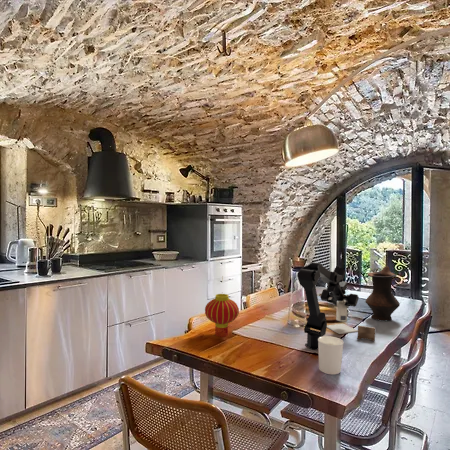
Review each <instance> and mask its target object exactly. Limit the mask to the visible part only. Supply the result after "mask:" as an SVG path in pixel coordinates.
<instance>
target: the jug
mask: <svg viewBox="0 0 450 450" xmlns="http://www.w3.org/2000/svg"><path fill="white" fill-rule="evenodd" d="M367 276H368V277H370V278H371V280H372V292H371V294H369V296H367V298H366V299H365V304H366V305H367V306H368V307H369V309H370V311H372V314H371V316H370V317H371V319H372V320H376V321H384V322H388V321H391V320H393V317H392V314H393V313H394V312H395V311H396V310H398V308H399V307H400V302H399V300H398V299H397V298H396V297H395V295H394V294H393V292H392V281H393V278H396V277H398V276H397V274H395V273H393V272H391V270H390V267H389V266H383V268H382V269H381V270H380V271H372V272H371V271H370V272H368V273H367Z"/></svg>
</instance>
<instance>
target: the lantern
mask: <svg viewBox="0 0 450 450" xmlns="http://www.w3.org/2000/svg"><path fill="white" fill-rule="evenodd" d="M223 277H224V276H223V275H222V277H221V278H222V281H224V280H223ZM239 313H240V308H239V306H238V304H237V303H236V302H235V301H234V300H233V299H232V298H229V294H227V293H217V294H215V298H213V299H211V300H209V301H208V302H207V304H206V305H205V307H204V315H205V317H206V318H207V319H208V320H210V322H212V323H213V324H215V326H214V327H215V331H214V332H215V335H214V336H216V337H227V336H228V334H229V333H228V332H229V324H230V323H232V322H233V321H236V319H237V317H238V316H239Z"/></svg>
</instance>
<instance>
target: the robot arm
mask: <svg viewBox="0 0 450 450" xmlns="http://www.w3.org/2000/svg"><path fill="white" fill-rule="evenodd" d="M296 275H297V276H296V277H297V279H298V283H299V285H300V286H301V287H302V288H303V289H304V293H305V297H306V303H307V308H308V311H309V315H308V317H307V321H306V323H305V325H304V328H303V330H304V333H305V334H307V335H306V336H307V338H306V343H304V345H305V346H306V347H308V348H309V349H310V350H312V351H315V350H318V338H319V337H322V336H326V333H327V332H326V331H327V329H328V328H327V325H328V322H327V318H326V317H327V316H326V314H325V312H321V309H320V305H319V298H318V293H317V288H316V285H317V283H318V282H319V279H320V278H321V281H322V282H323V284H324V283H325V284H327V288H326V289H323V290H322V292H321V294H320V299H321V301H323V302H327V303H330V304H332V305H333V306H336V307H337V301H343V300H345V301H346V302H345V306H346V307H347V309H349V308H350V307H354V308H355V307H357V304H358V301H359V295H358V294H357V293H349V294H346V292H347V291H346V290H347V289H348V283H347V281H344V278H345V275H346V269H344V268H343V267H341V266H339V265H336V266H335V267H334V270H333V271H331V270H329V269H328V268H327V267H325V266H324V265H323V264H322V263H320V262H315V261H314V262H312V261H311V262H310V263H309V264H307V265H305V266H302V267H301V268H300V269H299V271H298V272H297V274H296Z"/></svg>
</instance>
